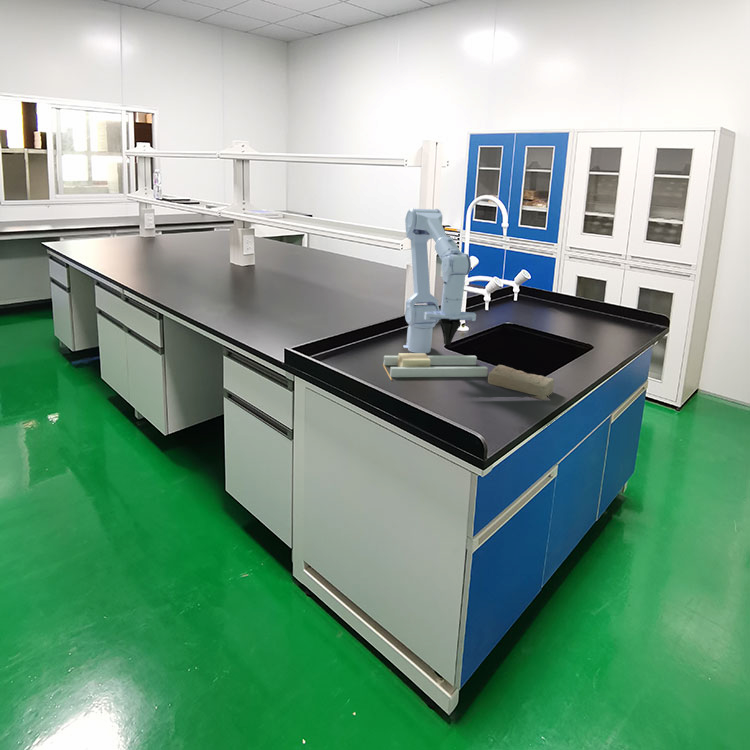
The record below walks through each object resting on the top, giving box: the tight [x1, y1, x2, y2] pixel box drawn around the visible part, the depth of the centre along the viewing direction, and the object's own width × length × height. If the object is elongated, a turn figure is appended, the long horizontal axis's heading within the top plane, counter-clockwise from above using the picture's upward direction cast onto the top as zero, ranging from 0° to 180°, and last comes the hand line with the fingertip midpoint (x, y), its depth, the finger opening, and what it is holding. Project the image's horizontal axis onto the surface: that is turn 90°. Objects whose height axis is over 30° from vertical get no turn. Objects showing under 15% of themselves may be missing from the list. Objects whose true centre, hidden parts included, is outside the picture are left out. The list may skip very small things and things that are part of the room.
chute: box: [382, 355, 489, 382], centre depth 173 cm, size 12×28×3 cm, turn 101°
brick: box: [487, 364, 555, 401], centre depth 165 cm, size 17×8×5 cm, turn 60°
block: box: [396, 352, 431, 367], centre depth 171 cm, size 6×8×4 cm
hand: (447, 344), depth 171 cm, fingers closed
